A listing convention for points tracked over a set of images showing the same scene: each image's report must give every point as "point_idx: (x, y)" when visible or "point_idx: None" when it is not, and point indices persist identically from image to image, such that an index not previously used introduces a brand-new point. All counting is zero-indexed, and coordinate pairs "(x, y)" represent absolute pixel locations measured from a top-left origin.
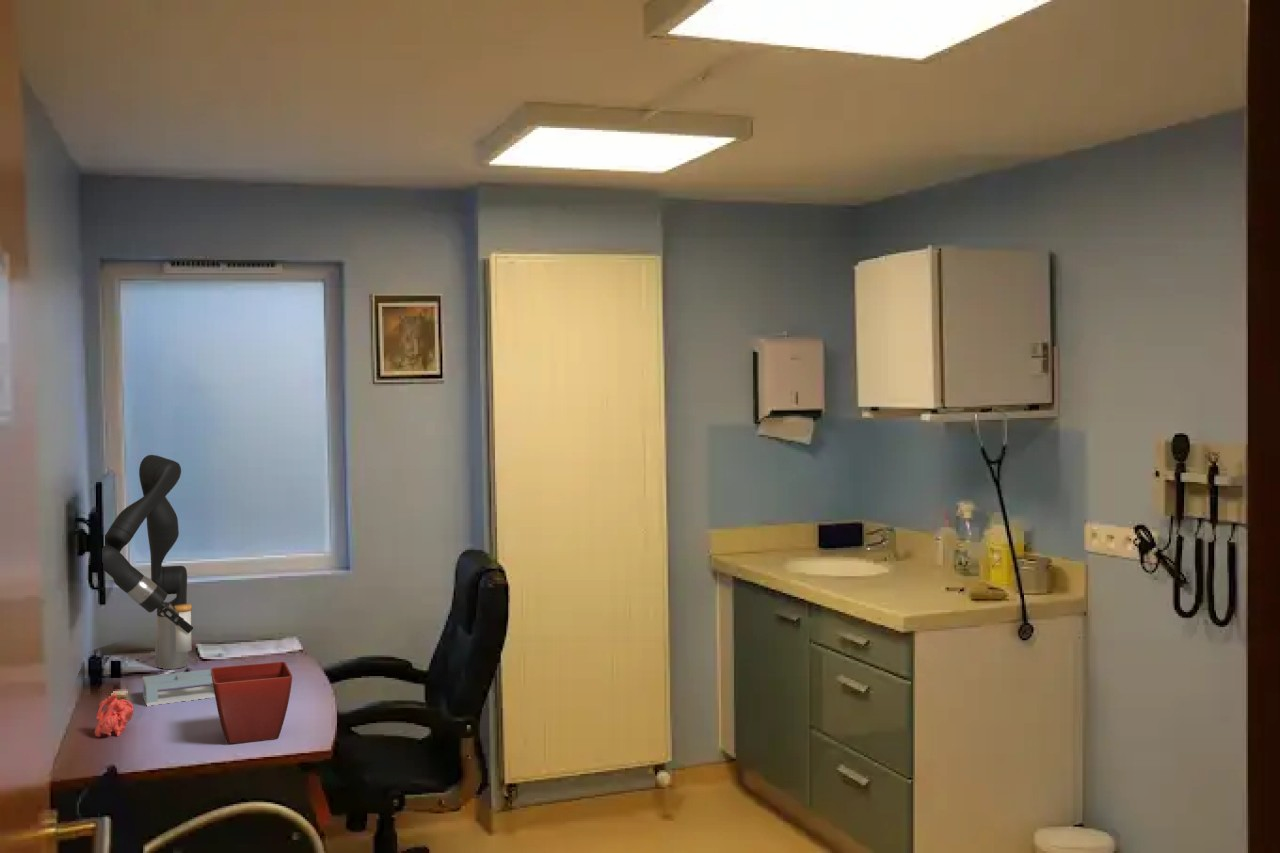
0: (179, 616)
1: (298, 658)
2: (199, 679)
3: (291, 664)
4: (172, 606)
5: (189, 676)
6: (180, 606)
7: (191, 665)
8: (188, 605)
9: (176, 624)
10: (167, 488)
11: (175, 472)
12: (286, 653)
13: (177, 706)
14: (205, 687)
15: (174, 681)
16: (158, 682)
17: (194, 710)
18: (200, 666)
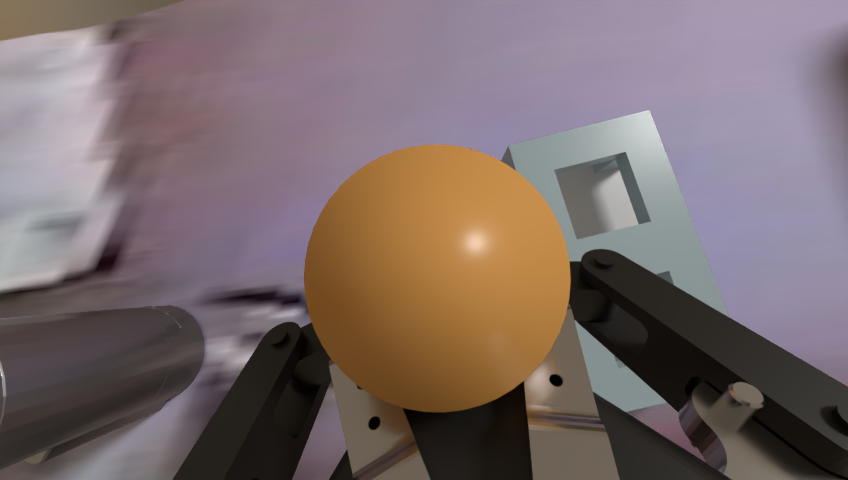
0: (656, 285)
1: (202, 6)
2: (681, 195)
3: (270, 17)
4: (597, 432)
5: (623, 237)
6: (517, 297)
7: (170, 294)
8: (461, 183)
9: (617, 311)
10: None
11: None
12: (125, 42)
13: None
14: None
15: (698, 282)
16: None
17: (760, 212)
18: (195, 265)
